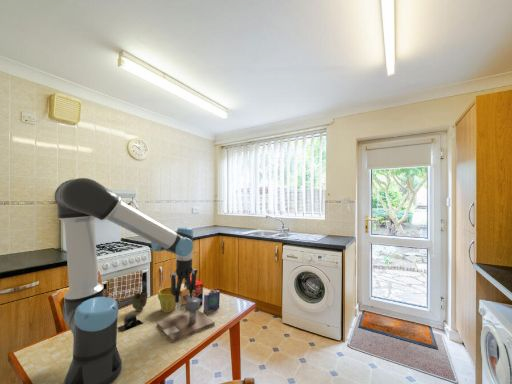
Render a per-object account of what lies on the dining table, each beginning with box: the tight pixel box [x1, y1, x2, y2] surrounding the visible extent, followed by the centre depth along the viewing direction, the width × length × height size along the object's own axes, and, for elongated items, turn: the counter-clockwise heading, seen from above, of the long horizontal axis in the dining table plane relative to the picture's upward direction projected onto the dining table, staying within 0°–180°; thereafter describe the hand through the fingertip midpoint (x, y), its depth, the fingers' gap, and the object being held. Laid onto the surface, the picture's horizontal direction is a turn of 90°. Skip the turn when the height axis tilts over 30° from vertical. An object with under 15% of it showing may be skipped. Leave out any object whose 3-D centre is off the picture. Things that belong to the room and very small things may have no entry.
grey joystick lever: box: [179, 287, 201, 312], centre depth 109 cm, size 15×6×6 cm, turn 43°
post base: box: [156, 309, 216, 343], centre depth 106 cm, size 20×17×8 cm
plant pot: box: [157, 286, 177, 313], centre depth 121 cm, size 10×10×10 cm
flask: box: [203, 288, 221, 314], centre depth 122 cm, size 9×3×11 cm, turn 132°
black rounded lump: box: [117, 313, 144, 333], centre depth 105 cm, size 12×7×5 cm, turn 142°
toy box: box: [183, 274, 204, 306], centre depth 133 cm, size 18×4×12 cm, turn 37°
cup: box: [131, 292, 149, 313], centre depth 119 cm, size 8×7×8 cm
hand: (183, 306), depth 113 cm, fingers closed on grey joystick lever, 4 cm apart
